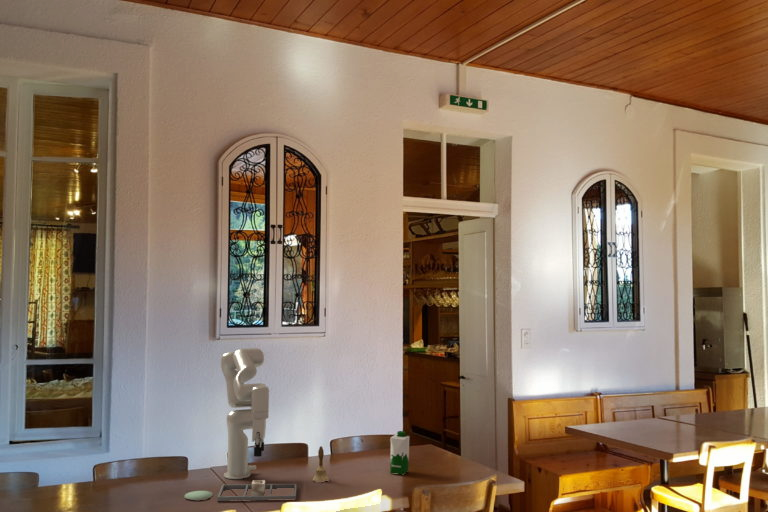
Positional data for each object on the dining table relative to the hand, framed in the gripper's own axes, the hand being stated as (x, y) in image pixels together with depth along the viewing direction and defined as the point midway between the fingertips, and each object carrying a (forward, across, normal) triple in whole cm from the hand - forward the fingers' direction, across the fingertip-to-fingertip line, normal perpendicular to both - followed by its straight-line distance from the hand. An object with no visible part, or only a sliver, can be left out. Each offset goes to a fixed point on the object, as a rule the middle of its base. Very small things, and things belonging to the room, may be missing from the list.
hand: (259, 453), depth 308 cm
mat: (+18, +1, -26) cm, 32 cm away
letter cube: (+18, -1, 0) cm, 18 cm away
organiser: (+19, -1, 0) cm, 19 cm away
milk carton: (+19, -37, +66) cm, 77 cm away
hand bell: (+19, -25, +27) cm, 41 cm away
